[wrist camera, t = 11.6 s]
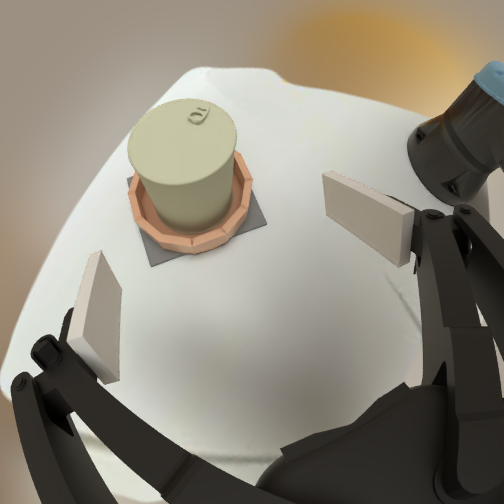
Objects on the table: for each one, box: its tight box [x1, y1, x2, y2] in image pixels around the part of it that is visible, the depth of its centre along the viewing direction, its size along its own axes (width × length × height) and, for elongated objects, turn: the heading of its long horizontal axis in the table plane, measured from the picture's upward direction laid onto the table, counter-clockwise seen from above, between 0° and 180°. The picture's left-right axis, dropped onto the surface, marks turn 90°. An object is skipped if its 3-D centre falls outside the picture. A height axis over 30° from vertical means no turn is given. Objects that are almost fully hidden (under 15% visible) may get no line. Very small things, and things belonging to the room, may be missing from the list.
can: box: [128, 99, 237, 235], centre depth 27 cm, size 9×9×12 cm
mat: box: [127, 176, 267, 267], centre depth 33 cm, size 14×12×1 cm
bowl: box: [128, 151, 253, 254], centre depth 32 cm, size 13×13×3 cm
